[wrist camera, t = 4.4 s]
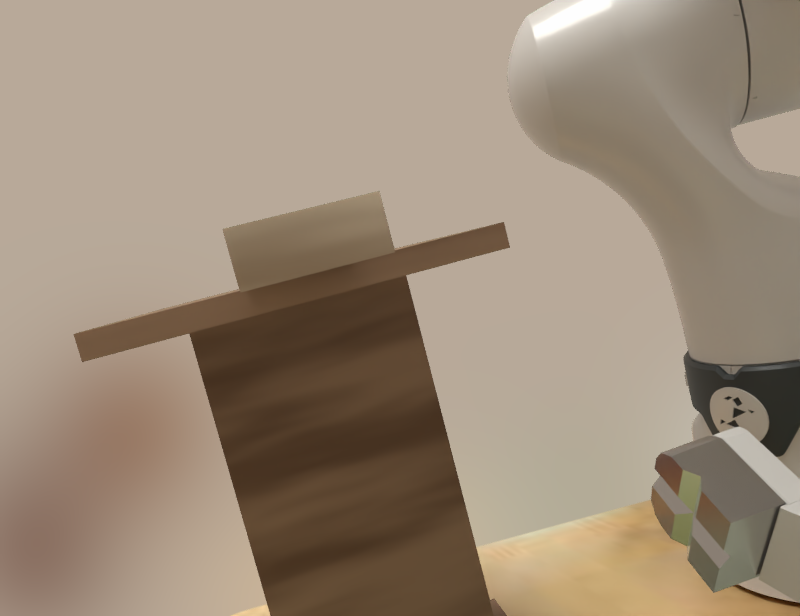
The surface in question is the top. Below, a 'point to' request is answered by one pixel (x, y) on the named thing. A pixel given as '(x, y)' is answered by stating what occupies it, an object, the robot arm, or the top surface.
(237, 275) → the birch slat
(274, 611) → the walnut stand
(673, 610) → the top surface
